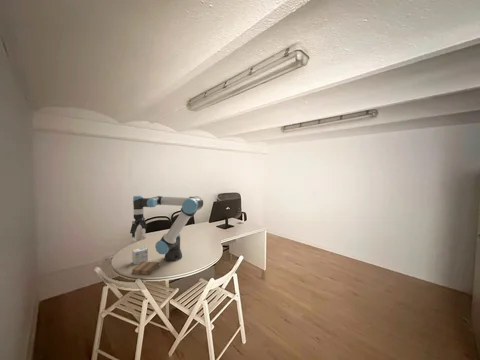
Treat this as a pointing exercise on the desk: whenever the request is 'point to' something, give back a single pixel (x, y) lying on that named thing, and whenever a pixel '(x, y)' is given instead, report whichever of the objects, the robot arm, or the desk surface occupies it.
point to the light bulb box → (140, 255)
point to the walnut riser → (145, 268)
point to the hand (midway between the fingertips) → (139, 238)
